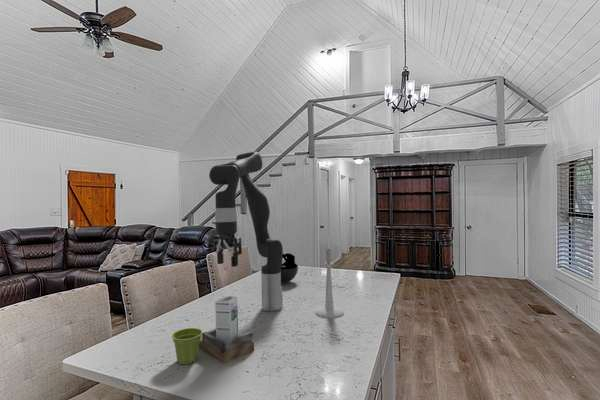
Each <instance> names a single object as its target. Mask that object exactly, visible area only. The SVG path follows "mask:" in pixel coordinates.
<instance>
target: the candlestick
mask: <svg viewBox="0 0 600 400" xmlns="http://www.w3.org/2000/svg"><path fill="white" fill-rule="evenodd" d="M325 250H326V252H325V253H326V259H325V261H326V262H324V264H325V268H326V282H325V283H326V284H325V305H324V306H320V307H318V308H317V309H316V310H315V311H314V313H315V316H317V317H320V318H324V319H337V318H341V317H342V316H344V310H343V309H341V308H340V307H339V306H338V307H337V306H335V305H334V298H333V284H332V283H333V282H332V270H331V268H332V267H333V266H332V264H333V262H332V256H331V253H332V251H331V247H327V248H326V249H325Z"/></svg>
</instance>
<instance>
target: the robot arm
mask: <svg viewBox="0 0 600 400" xmlns="http://www.w3.org/2000/svg"><path fill="white" fill-rule="evenodd" d="M235 158H236V159H235V160H233V161H230V162H228V163H222V164H217V165H214V166H212V167H211V168H210V171H209V179H210V181H211V183H212V184H214V185H217V186H226V185H227V187H226V188H225V189H224V190H221V191H218V192H216V193H215V213H214V214H215V215H214V221H215V234H216V235H213V237H212V252H214V253H215V254H216V258H217V260H216V261H217V265H223V264H224V251H225V249H226V250H227V251H228V252H229V253H230V260H231V261H230V264H231V265H230V267H233V268H235V267H238V266H239V265H238V264H239V260H238V259H239V257H238V256H239V255H242V253H243V251H242V250H243V248H242V247H243V246H242V238H241V237H240V236H238V237H236V236H235V234H237V232H238V225H237V224H238V223H237V222H238V220H237V219H238V218H237V217H238V216H237V209H236V195H237V194H236V193H237V189H238V186H239V182H240V179H241V182H242V186H243V188H244V192H245V197H246V200H247V206H248V209H249V214H250V217H251V220H252V225H253V230H254V233H255V240H256V249H257V251H258V254H259V255H260V256H261V257H262V258H266V264H264V265H262V267H261V269H260V270H261V271H260V272H261V275H260V276H261V310H263V311H265V312H274V311H279V310H281V309H282V308H283V305H284V304H283V303H284V302H283V301H284V299H283V287H282V285H281V284H282V283H281V267H282V264H283V258H282V255H283V254H284V253H283V252H284V251H283V245H282V242H281V241H280V240H279V239H275V238H271V237H270V235H269V234H270V233H269V230H268V224H269V219H270V215H271V214H270V213H271V211H270V206H269V205H270V204H269V201H268V198H267V196H266V195H265V194H264V193H263V192H262V191H261V190H260V189H259V188H258V187H257V186H256V185H255V184H254V182H253V181H252V178H251V176H250V174H251V173H257V172H259V171H261V170H262V169H263V158H262V156H261V154H260V153H259V152H258V151H249V152H245V153H241V154H238V155H236V157H235Z"/></svg>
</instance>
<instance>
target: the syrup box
mask: <svg viewBox="0 0 600 400" xmlns="http://www.w3.org/2000/svg"><path fill="white" fill-rule="evenodd" d="M214 307H215V309H214V310H215V313H214V314H215V329H216V338H218V339H220V340H222V341H226V340H229V339H231V338H234V337H237V336H238V334H239V316H238V315H239V314H238V309H239V308H238V297H237V296H228V295H227V296H225V295H224V296H222V297H221V298H219V299H217V300H216V301H215V302H214Z"/></svg>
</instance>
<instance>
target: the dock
mask: <svg viewBox="0 0 600 400" xmlns="http://www.w3.org/2000/svg"><path fill="white" fill-rule="evenodd" d="M198 350H199V351H202V352H204V353H206V354H207V355H208V356H211V357H213V358H214V359H216V360H218V361H219V362H220V363H222V364H226V363H229V362H231V361H233V360H236V359H238V358H240V357H242V356H245V355H247V354H249V353H252V352H253V351H255V341H254V340H253V331H251V330H250V331H248V332H245V333H243V334H239V333H238V336H237V337H234V338H231V339H229V340H226V341H222V340H220V339H218V338H216V328H212V329H210V330H207V331H205V332H204V331H203V332H202V335H201V338H200V342H199V349H198Z"/></svg>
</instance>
